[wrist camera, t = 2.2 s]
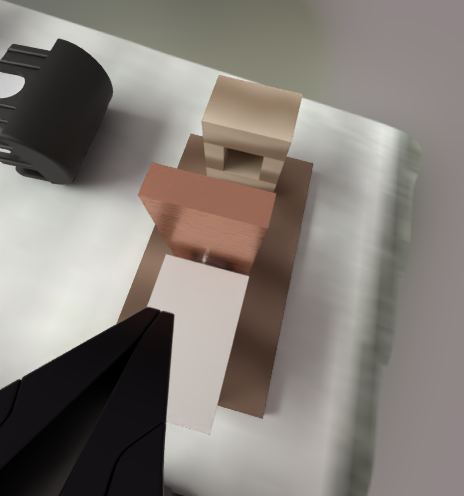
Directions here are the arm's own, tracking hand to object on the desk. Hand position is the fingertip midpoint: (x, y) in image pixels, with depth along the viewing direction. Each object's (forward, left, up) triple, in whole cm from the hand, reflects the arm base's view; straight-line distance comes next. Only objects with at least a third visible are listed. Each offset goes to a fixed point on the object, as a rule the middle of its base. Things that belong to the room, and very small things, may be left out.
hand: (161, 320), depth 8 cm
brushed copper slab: (+3, 0, -11) cm, 11 cm away
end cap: (+14, +17, -14) cm, 26 cm away
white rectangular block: (0, 0, -14) cm, 14 cm away
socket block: (+15, 0, -14) cm, 20 cm away
